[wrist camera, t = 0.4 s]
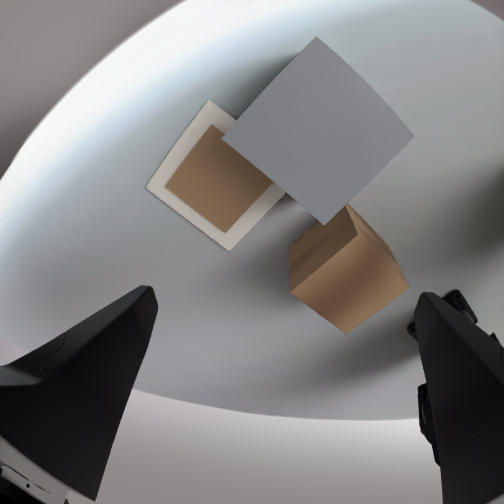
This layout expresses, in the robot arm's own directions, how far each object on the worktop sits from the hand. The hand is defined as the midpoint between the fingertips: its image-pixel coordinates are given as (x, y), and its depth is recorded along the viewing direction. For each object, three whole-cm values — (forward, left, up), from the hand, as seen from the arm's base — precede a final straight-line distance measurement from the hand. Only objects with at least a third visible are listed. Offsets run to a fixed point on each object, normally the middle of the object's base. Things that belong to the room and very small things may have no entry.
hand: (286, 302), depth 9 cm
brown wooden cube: (-7, +1, -13) cm, 14 cm away
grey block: (+1, -4, -13) cm, 13 cm away
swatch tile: (+3, +3, -13) cm, 14 cm away
